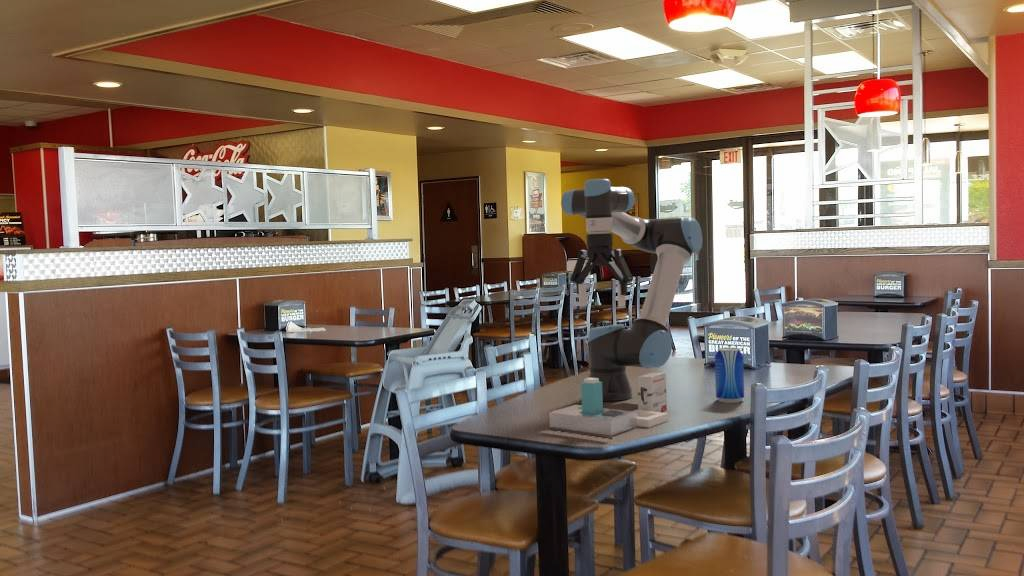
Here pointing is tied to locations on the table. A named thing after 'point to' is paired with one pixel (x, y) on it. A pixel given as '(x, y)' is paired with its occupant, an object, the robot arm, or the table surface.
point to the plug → (592, 396)
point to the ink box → (652, 392)
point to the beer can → (729, 375)
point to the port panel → (593, 420)
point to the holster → (650, 418)
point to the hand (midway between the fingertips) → (602, 306)
